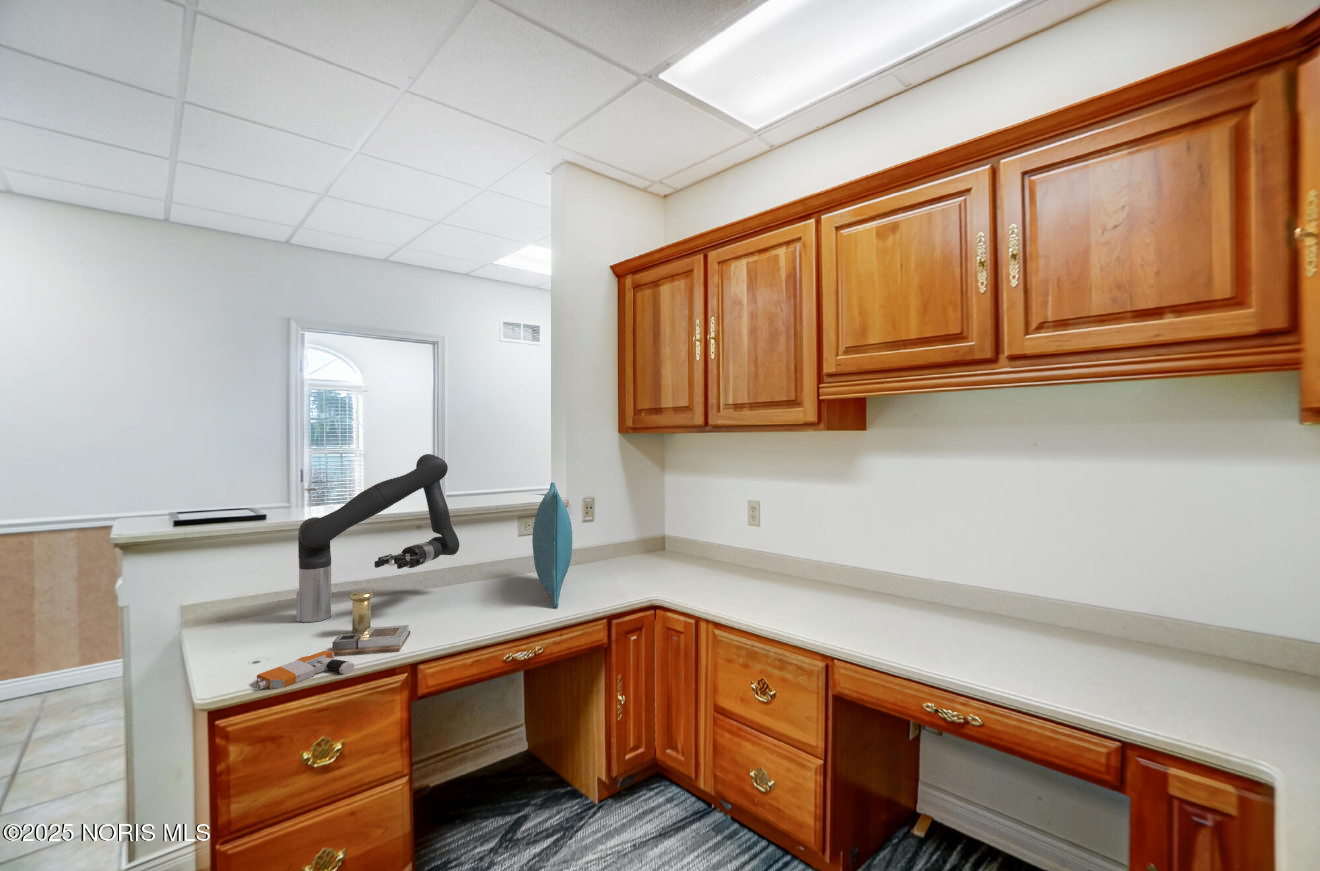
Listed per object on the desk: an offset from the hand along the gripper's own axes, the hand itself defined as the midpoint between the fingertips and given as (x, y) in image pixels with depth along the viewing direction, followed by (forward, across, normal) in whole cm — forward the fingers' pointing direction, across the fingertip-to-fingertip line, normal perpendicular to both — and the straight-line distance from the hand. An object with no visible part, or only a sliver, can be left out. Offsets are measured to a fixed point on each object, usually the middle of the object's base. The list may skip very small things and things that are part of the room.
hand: (386, 565), depth 190 cm
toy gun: (+43, +9, +19) cm, 48 cm away
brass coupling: (+11, 0, +18) cm, 21 cm away
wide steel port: (+19, +14, +18) cm, 29 cm away
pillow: (-44, +39, +20) cm, 62 cm away
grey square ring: (+25, +6, +18) cm, 31 cm away
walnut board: (+20, +10, +18) cm, 29 cm away
